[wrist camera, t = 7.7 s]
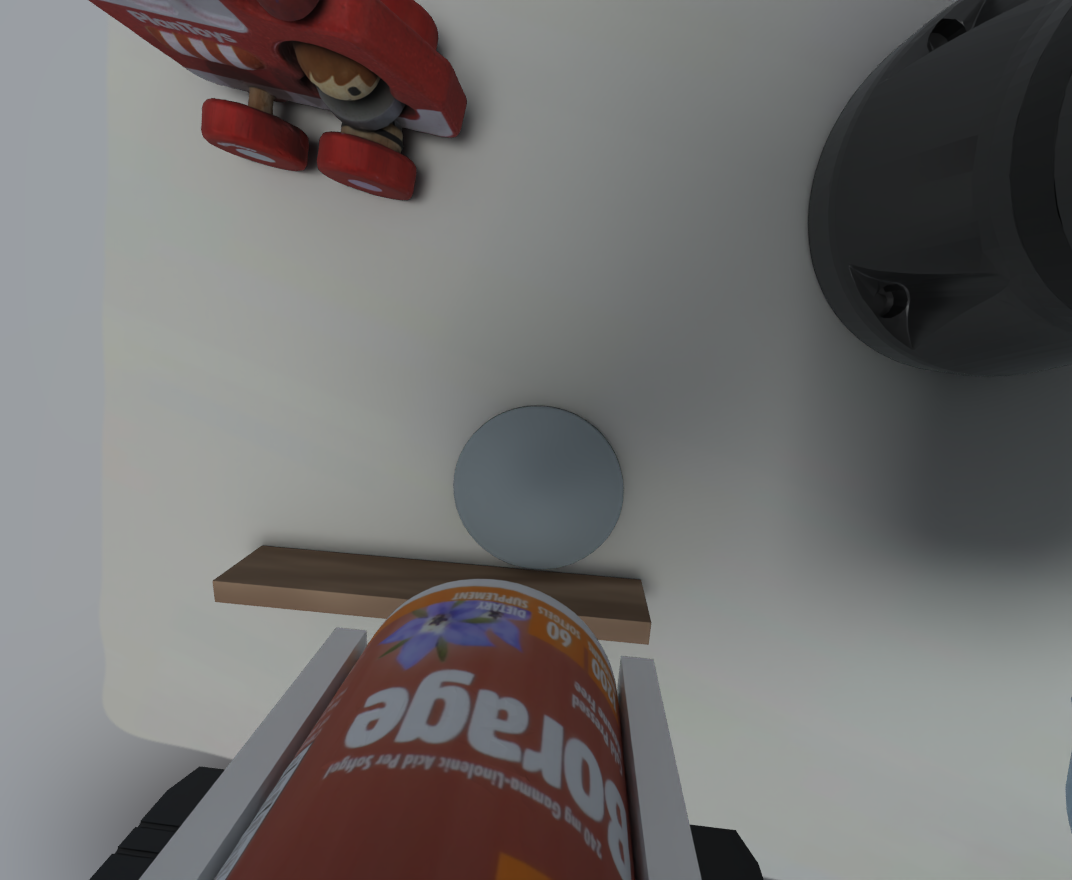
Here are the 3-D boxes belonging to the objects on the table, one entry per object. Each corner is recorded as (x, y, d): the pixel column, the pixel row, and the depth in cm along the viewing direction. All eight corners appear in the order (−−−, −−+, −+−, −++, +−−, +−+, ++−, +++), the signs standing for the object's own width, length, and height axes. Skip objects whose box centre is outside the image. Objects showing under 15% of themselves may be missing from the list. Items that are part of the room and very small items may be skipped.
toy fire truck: (458, 217, 24) (371, 143, 14) (213, 153, 24) (-51, 34, 14) (490, 54, 22) (417, -168, 12) (226, -13, 22) (-65, -287, 12)
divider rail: (261, 545, 29) (212, 580, 25) (640, 579, 27) (651, 622, 24) (263, 564, 29) (215, 601, 25) (638, 599, 28) (648, 644, 24)
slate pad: (457, 400, 26) (454, 401, 25) (630, 411, 25) (631, 413, 25) (454, 556, 28) (452, 561, 27) (614, 570, 27) (615, 576, 27)
